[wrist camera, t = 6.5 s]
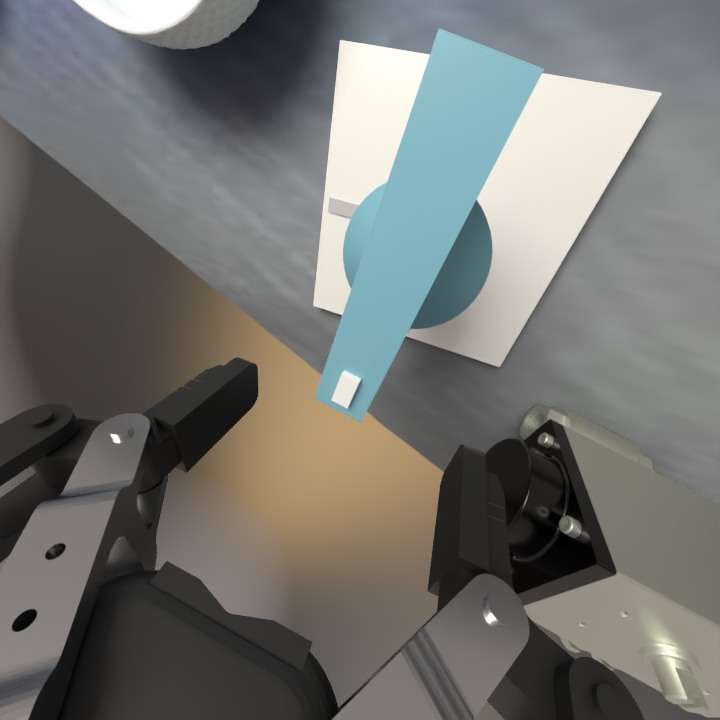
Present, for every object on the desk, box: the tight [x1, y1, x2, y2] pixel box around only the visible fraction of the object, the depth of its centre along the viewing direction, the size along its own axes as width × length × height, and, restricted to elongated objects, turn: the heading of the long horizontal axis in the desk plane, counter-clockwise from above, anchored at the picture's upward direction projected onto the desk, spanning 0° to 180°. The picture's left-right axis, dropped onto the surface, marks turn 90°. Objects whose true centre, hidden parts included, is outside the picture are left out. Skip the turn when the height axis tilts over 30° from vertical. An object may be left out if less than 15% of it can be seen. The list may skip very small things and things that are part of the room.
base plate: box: [313, 40, 662, 367], centre depth 19 cm, size 18×18×8 cm
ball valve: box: [485, 404, 720, 720], centre depth 20 cm, size 18×8×18 cm, turn 70°
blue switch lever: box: [315, 28, 544, 422], centre depth 13 cm, size 12×7×8 cm, turn 161°
